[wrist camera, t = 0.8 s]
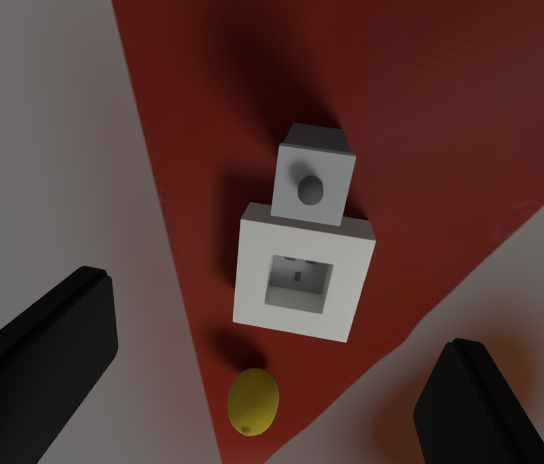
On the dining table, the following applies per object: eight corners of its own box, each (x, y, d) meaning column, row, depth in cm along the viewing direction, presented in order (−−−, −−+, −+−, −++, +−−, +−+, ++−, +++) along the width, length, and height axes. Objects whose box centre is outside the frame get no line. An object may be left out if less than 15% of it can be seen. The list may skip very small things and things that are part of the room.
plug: (292, 121, 27) (277, 149, 17) (343, 128, 27) (358, 161, 17) (285, 170, 29) (268, 222, 19) (333, 178, 28) (340, 233, 19)
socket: (250, 202, 30) (240, 219, 27) (369, 220, 30) (375, 240, 26) (241, 296, 35) (232, 321, 32) (343, 314, 35) (346, 342, 31)
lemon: (285, 385, 41) (277, 452, 33) (242, 385, 42) (225, 450, 34) (278, 352, 38) (269, 416, 31) (233, 353, 39) (213, 415, 32)
